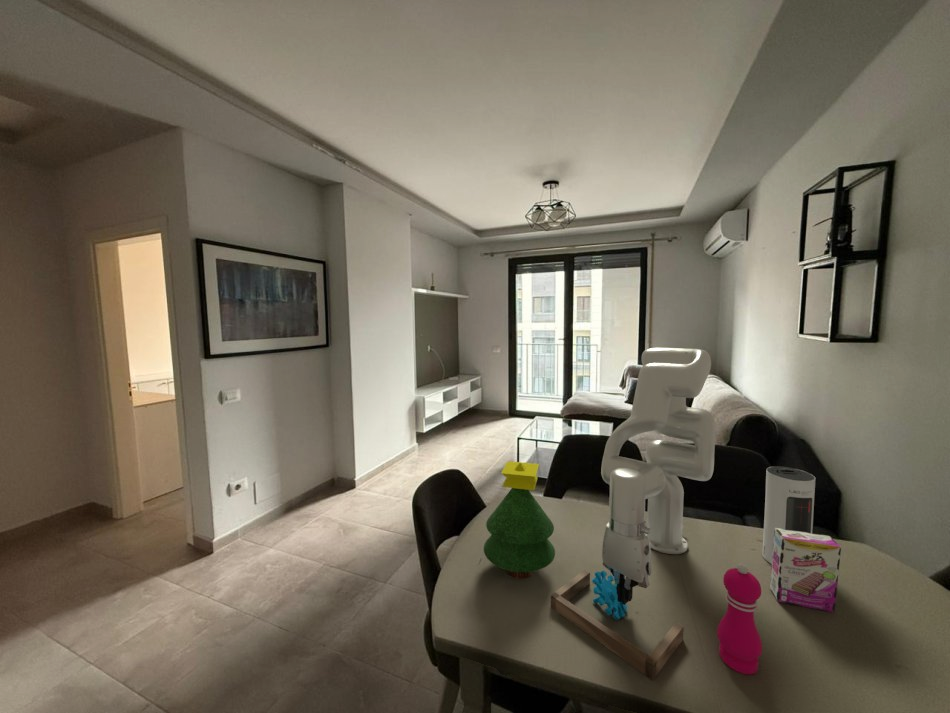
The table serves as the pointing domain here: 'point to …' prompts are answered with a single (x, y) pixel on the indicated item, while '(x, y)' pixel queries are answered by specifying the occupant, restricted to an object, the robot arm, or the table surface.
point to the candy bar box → (805, 569)
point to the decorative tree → (519, 526)
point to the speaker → (787, 504)
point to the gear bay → (610, 639)
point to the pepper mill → (740, 621)
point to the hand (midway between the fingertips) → (624, 600)
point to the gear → (608, 595)
